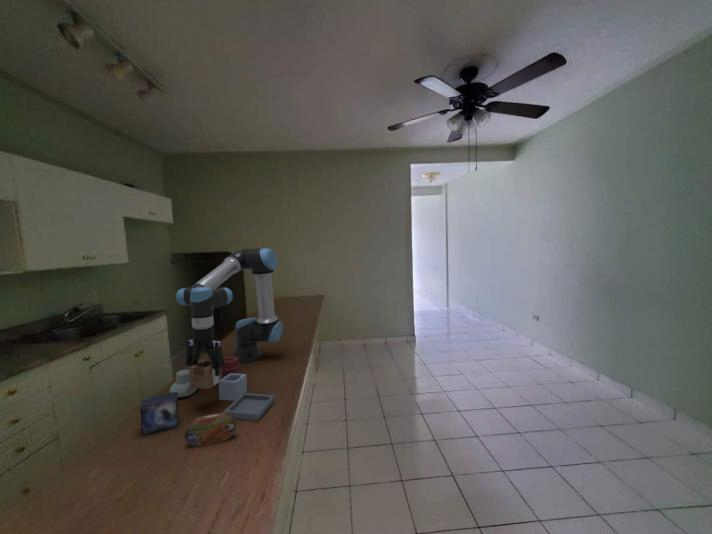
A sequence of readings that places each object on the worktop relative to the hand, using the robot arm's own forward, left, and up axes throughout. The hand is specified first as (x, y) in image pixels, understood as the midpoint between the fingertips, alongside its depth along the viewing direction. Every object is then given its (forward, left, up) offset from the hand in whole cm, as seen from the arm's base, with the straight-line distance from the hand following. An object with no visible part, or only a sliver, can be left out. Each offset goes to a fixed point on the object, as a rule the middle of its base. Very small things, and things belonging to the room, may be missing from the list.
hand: (206, 382), depth 112 cm
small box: (+14, -8, -11) cm, 19 cm away
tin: (+18, +15, -11) cm, 25 cm away
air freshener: (-8, -17, -11) cm, 22 cm away
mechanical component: (-21, -4, -10) cm, 24 cm away
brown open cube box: (0, 0, 0) cm, 0 cm away
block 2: (-10, +5, -10) cm, 16 cm away
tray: (-1, +18, -10) cm, 21 cm away
